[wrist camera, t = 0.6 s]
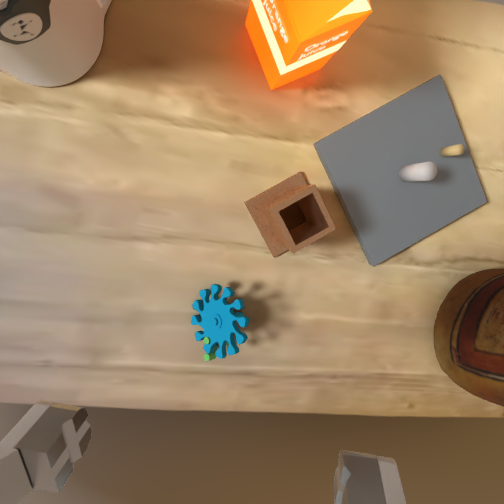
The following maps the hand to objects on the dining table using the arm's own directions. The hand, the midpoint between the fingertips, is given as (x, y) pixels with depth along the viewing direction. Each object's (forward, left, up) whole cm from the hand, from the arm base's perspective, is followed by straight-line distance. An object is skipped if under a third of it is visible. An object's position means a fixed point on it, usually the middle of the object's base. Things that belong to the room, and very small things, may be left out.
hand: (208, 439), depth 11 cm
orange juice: (-19, +22, -38) cm, 48 cm away
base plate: (+4, +30, -38) cm, 49 cm away
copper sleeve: (+1, +12, -38) cm, 40 cm away
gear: (+9, -3, -38) cm, 40 cm away
